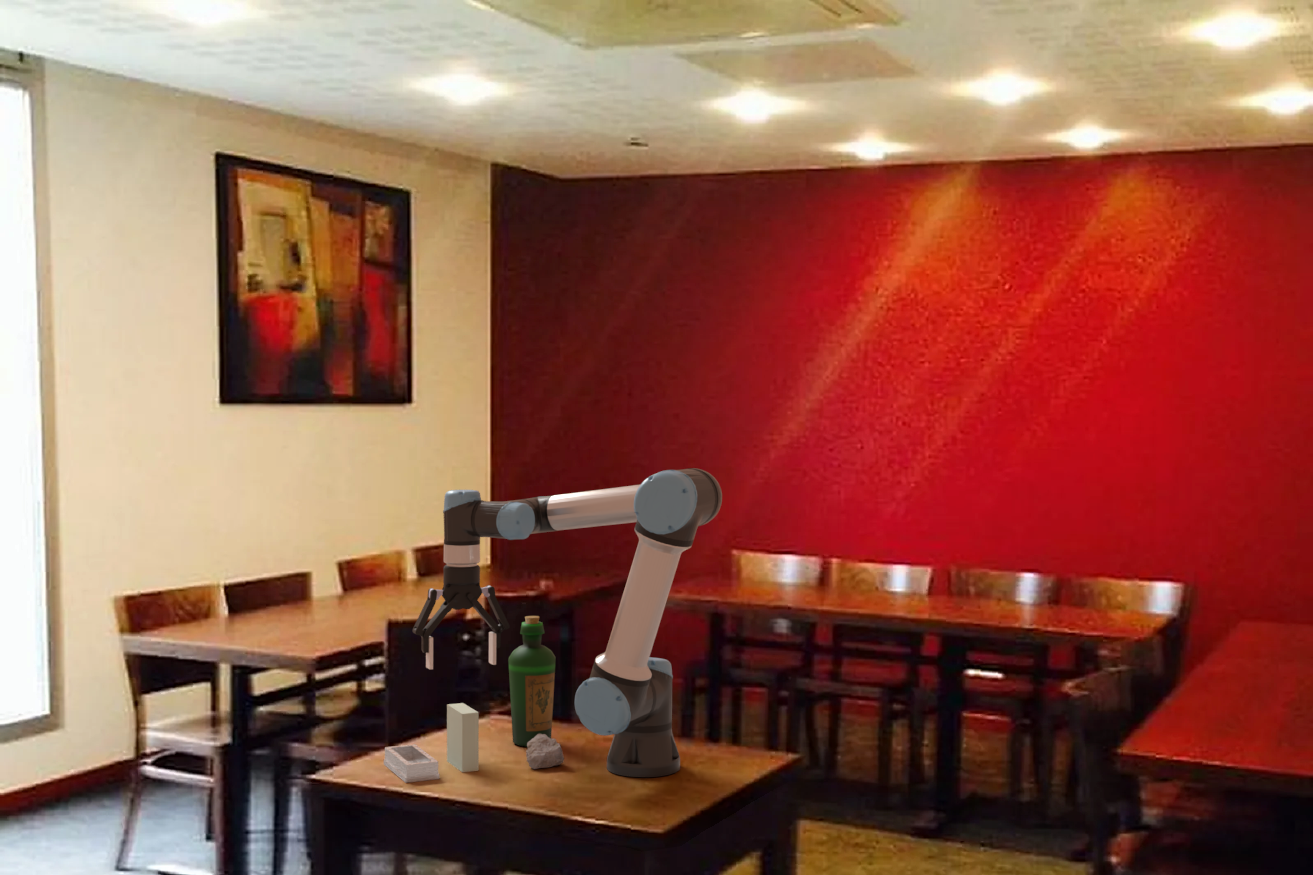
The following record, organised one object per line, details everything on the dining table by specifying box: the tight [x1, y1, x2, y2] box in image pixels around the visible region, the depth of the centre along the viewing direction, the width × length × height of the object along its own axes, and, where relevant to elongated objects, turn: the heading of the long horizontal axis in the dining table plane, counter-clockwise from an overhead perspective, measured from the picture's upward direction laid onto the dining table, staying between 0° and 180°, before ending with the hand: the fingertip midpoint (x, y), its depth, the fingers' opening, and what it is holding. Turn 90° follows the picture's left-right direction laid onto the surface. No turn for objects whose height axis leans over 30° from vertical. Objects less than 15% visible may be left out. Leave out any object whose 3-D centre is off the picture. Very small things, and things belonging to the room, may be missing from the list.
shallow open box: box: [383, 743, 440, 784], centre depth 303 cm, size 16×7×4 cm, turn 26°
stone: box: [525, 734, 565, 770], centre depth 309 cm, size 10×8×6 cm
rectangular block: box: [446, 702, 480, 773], centre depth 308 cm, size 10×4×12 cm, turn 26°
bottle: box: [507, 615, 557, 748], centre depth 327 cm, size 11×11×28 cm
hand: (461, 666), depth 309 cm, fingers open, 13 cm apart
